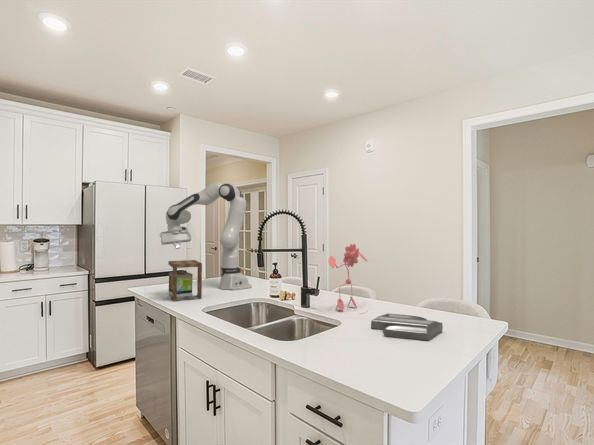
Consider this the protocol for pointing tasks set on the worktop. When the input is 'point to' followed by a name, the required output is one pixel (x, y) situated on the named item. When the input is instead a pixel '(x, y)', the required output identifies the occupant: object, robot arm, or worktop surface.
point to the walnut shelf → (176, 265)
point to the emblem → (407, 326)
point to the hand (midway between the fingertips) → (178, 248)
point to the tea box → (181, 284)
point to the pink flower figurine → (350, 258)
